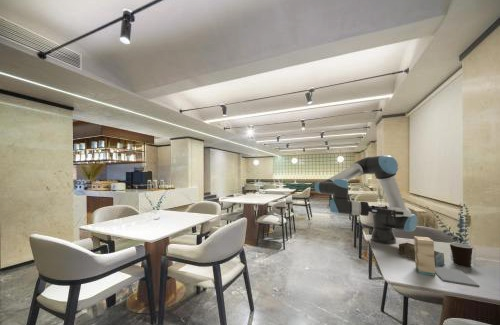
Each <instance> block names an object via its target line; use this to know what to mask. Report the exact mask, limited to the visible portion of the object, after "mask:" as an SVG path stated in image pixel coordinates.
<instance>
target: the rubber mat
mask: <svg viewBox="0 0 500 325" xmlns="http://www.w3.org/2000/svg"><path fill="white" fill-rule="evenodd" d="M435 275H436V276H438V278H439V279H441V281H443V282H447V283H452V284H454V283H455V284H458V285H466V286H470V287H471V286H473V287H478V288H479V287H480V285H479V284H478V283H477V282H475V281H474V280H473V279H472V278H471V277H470V276H468V275H467V274H466V273H465V272H464V271H462V270H461V269H456V268H447V267H443V266H442V267H441V266H435Z"/></svg>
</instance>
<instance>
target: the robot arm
mask: <svg viewBox="0 0 500 325" xmlns="http://www.w3.org/2000/svg"><path fill="white" fill-rule="evenodd" d="M398 171H399V164H398V161H397V160H396V159H395V157H394V156H391V155H385V154H384V155H377V156H367V157H364V158H361V159H359V160H357V161H355V162H353V163H351V164H350V166H349V167H347V168H345V169H344V170H342V171H339V172H338V173H337V174H335V175H333V176H331V177H329V178H328V179H326V180H323V181H317V182H316V183H315V185H314V190H315V192H316V193H318V194H322V195H332V196H333V198H332V199H330V200H329V212H331V213H334V214H342V215H343V214H344V215H353V217H354V216H359V215H360V216H363V217H364V216H365V217H368V216H369V214H370V213H371V214H372V216H373V229H372V232H371V240H372V241H374V242H375V243H376V242H377V243H381V244H390V245H392V244H395V243H396V244H397V239H396V236H395V233H394V231H393V229H395V230H399V231H403V232H409V233H410V232H414V231H415V230H416V228H417V226H418V216H417V215H416V214H414V213H412V211H411V210H410V209H409V208H408V207H406V205H405V202H404V198H403V196H402V194H401V191H400V189H399V184H398V183H397V179H396V175H397V173H398ZM362 175H363V176H364V175H374V177H375V178H376V179H377V180H379V182H380V185H381V187H382V190H383V193H384V196H385V199H386V200H387V204H388V205H384V206H379V205H378V206H377V205H370V204H369V202H368V201H359V200H349V182H350V181H351V180H353V179H355V178H356V177H360V176H362Z"/></svg>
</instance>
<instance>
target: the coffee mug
mask: <svg viewBox="0 0 500 325" xmlns="http://www.w3.org/2000/svg"><path fill="white" fill-rule="evenodd" d="M449 247H450V251H451V255H452V256H451V258H452V260H453V264H454V265H456V266H459V267H463V268H471V266H472V256H473V249H474V248H473V246H472V245H469V244H465V243H461V242H449Z"/></svg>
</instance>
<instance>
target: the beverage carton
mask: <svg viewBox="0 0 500 325" xmlns="http://www.w3.org/2000/svg"><path fill="white" fill-rule="evenodd" d="M398 252H399V253H398V254H399V255H402V256H404V257H408V258H410V259H413V260H415V244H413V243H410V242H403V243H399V244H398ZM434 259H435V266H436V267H440V266H442V265H445V253H444V252H441V251H437V250H434Z"/></svg>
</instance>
